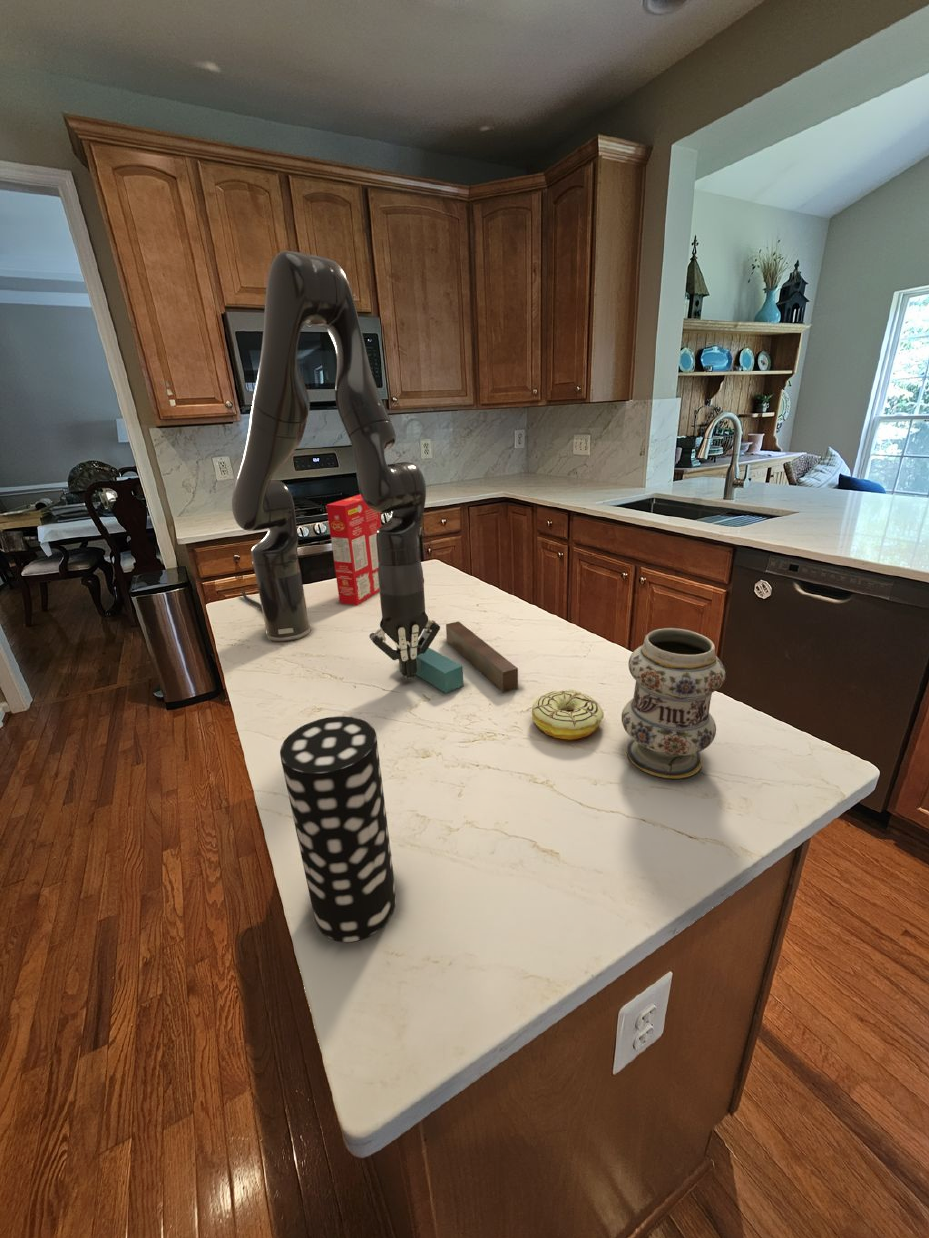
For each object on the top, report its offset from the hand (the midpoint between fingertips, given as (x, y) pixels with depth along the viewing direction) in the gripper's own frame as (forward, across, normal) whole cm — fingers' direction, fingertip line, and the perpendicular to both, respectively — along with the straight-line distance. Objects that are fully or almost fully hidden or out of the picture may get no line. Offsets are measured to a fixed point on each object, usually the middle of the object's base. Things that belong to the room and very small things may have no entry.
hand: (408, 676), depth 96 cm
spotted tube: (+2, +21, +41) cm, 46 cm away
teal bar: (+1, -4, 0) cm, 5 cm away
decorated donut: (+1, -17, +25) cm, 30 cm away
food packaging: (+1, -6, -50) cm, 51 cm away
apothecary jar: (+1, -24, +38) cm, 45 cm away
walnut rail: (+1, -14, 0) cm, 15 cm away
